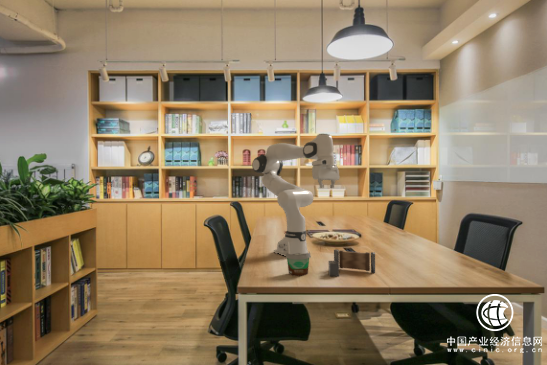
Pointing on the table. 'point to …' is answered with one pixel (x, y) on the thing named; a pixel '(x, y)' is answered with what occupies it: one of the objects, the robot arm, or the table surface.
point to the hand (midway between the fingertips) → (327, 188)
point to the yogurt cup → (298, 263)
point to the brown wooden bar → (354, 260)
